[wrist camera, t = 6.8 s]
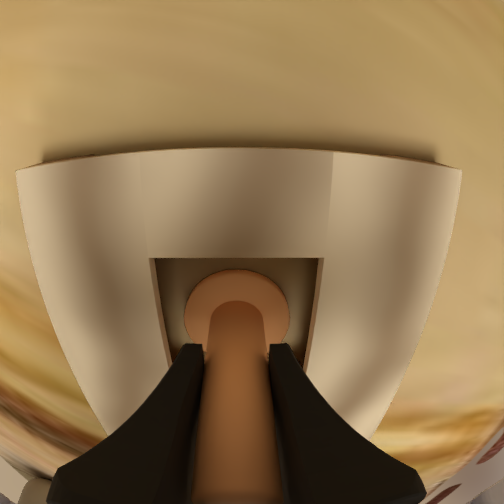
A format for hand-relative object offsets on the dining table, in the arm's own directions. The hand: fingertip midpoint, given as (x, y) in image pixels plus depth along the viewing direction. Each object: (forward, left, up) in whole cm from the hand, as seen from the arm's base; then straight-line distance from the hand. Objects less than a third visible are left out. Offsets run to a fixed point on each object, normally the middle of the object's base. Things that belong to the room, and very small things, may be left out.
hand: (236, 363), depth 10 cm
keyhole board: (0, -4, -4) cm, 5 cm away
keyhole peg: (0, 0, -4) cm, 4 cm away
